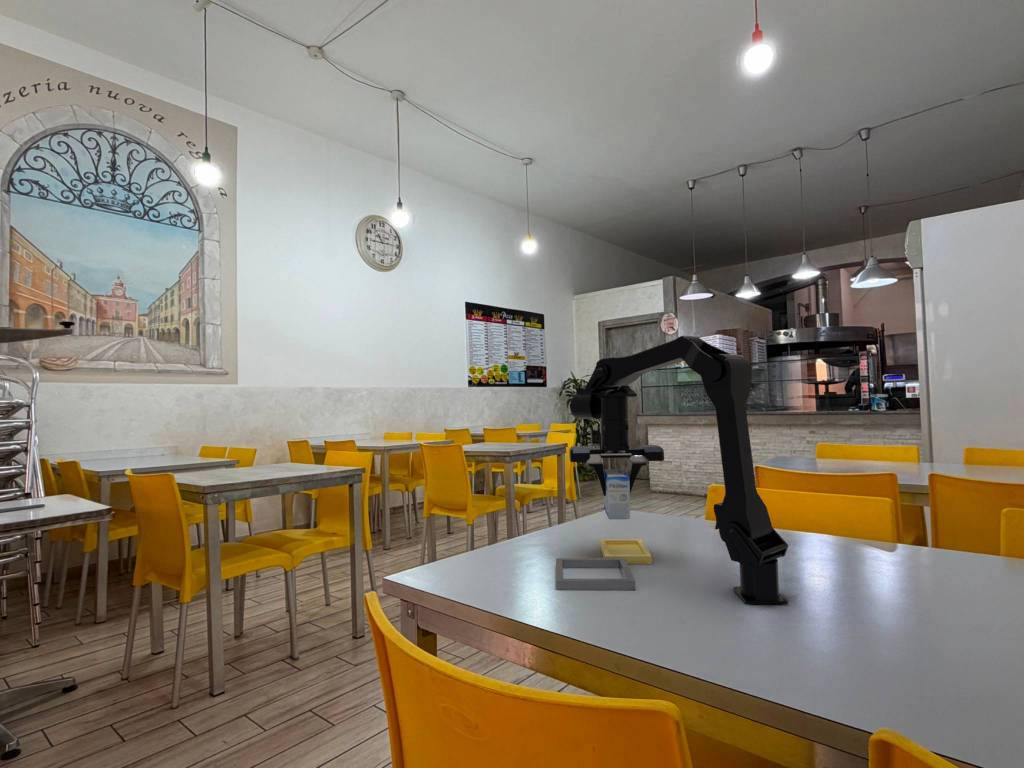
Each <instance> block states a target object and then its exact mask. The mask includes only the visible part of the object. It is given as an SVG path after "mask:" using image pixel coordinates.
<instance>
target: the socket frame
mask: <svg viewBox="0 0 1024 768" xmlns="http://www.w3.org/2000/svg"><path fill="white" fill-rule="evenodd" d="M583 568H584V569H588V568H589V569H604V568H605V569H612V568H613V569H619V570H620V571H621V575H622V577H623V578H564V572H563V569H583ZM555 584H556V585H555V587H556V588H555V589H556V590H559V591H561V590H562V591H563V590H564V591H566V590H567V591H570V590H571V591H573V590H575V591H576V590H577V591H580V590H581V591H586V590H587V591H591V590H592V591H593V590H594V591H595V590H596V591H636V580H635V578H634V575H633V574H632V571H631V568H630V566H629V564H627V561H626V559H625V558H603V557H592V558H591V557H587V558H586V557H581V558H580V557H579V558H577V557H574V558H573V557H570V558H569V557H564V558H562V557H560V558H559V557H558V558H557V557H556V558H555Z"/></svg>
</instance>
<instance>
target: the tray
mask: <svg viewBox="0 0 1024 768" xmlns="http://www.w3.org/2000/svg"><path fill="white" fill-rule="evenodd" d="M599 547H600V550H601V553H602V558H625V559H626V561H627V564H628V565H639V564H640V565H652V564H653V563H652V562H653V560H652V559H653V558H652V557H653V556H652V555H651V553H650V551H649V549H648V548H647V546H646V545H645V543H644V541H643V540H642V539H641V538H638V539H637V538H635V539H634V538H631V539H630V538H629V539H628V538H627V539H626V538H624V539H621V538H620V539H619V538H615V539H613V538H610V539H608V538H607V539H605V538H604V539H599Z"/></svg>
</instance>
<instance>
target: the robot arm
mask: <svg viewBox="0 0 1024 768" xmlns="http://www.w3.org/2000/svg"><path fill="white" fill-rule="evenodd" d="M681 362H684V363H685V364H686V365H687V367H688V368H689V369H690V370H692V371H694V372H695V373H696V374H697V375H700V379H701V382H702V386H703V389H704V393H705V394H706V397H708V399H709V401H710V402H711V404H712V406H713V407H714V410H715V418H716V424H717V425H716V426H717V434H718V443H719V450H720V459H721V466H722V474H723V484H724V485H723V486H724V497H723V499H722V502H718V503H714V504H713V511H714V516H715V527H714V530H718V534H719V536H720V539H721V541H722V542H724V544H725V546H726V548H727V549H726V550H727V552H728V555H729V557H730V558H729V559H730V560H731V561H732V562H736V563H738V565H739V586H732V587H733V588H732V590H733V591H734V592H735V593H736V595H737V596H738V597H739V599H740V600H742V601H743V602H744V603H745V604H748V605H749V604H752V605H754V604H755V605H757V604H758V605H759V604H761V605H762V604H763V605H764V604H765V605H768V604H769V605H771V604H772V605H776V604H777V605H787V604H789V600H788V599H787V598H786V597H785V596H784V595H783V594H782V593H780V584H779V582H780V580H779V578H780V577H779V559H780V558H783V557H785V556H786V555H787V552H788V548H789V544H788V543H787V542H786V541H785V539H783V537H782V536H781V535H780V534H779V532H777V530H775V528H774V527H773V525H772V521H771V518H770V515H769V511H768V507H767V505H766V504H765V502H764V501H763V500H762V498H761V496H760V494H759V493H758V491H757V490H758V489H757V485H756V478H755V477H756V476H755V469H754V462H753V453H752V447H751V446H752V445H751V438H750V431H749V423H748V422H749V421H748V415H747V402H748V399H749V396H750V393H751V390H752V379H753V378H752V376H753V369H752V365H751V362H750V361H749V360H748V359H746V358H745V357H744V355H743V356H742V355H740V354H730V353H729V352H727V351H725V350H723V349H722V348H719V347H717V346H714V345H713V344H710V343H708V342H706V341H704V340H703V339H702V338H700V337H698V336H693V335H680V336H678V337H677V338H675V339H672V340H671V341H667V342H665V343H662V344H659V345H656V346H654V347H650V348H648V349H645V350H642V351H640V352H637V353H634V354H632V355H626V356H612V357H606V358H605V357H604V358H601V359H599V360H597V362H596V363H595V365H596V366H595V367H594V369H593V372H592V374H591V375H590V378H589V380H588V382H587V384H586V386H585V387H577V388H576V393H575V394H574V395H573V396H572V397H571V400H570V403H569V410H570V413H571V415H572V416H573V417H574V418H576V419H578V420H581V419H585V420H588V419H589V420H599V419H600V429H597V430H595V429H594V430H590V444H591V447H598V449H597V448H596V449H594V448H593V449H590V447H589V446H588V445H577V446H576V445H573V446H571V447H569V449H568V457H569V458H568V460H569V462H570V463H585V464H586V465H587V466H588V467H592V469H593V470H594V472H595V474H596V477H597V480H598V483H599V486H600V488H601V492H602V495H603V497H604V496H606V485H605V477H604V470H605V469H604V463H603V462H602V461H601V460H602V459H625V458H629V459H627V473H626V474H627V475H628V477H629V482H630V494H631V493H632V490H633V486H634V484H635V481H636V479H637V476H638V474H639V472H640V470H641V469H642V467H643V466H647V462H646V460H647V461H648V462H664V461H665V451H664V448H662V447H661V446H660V445H658V444H640V445H639V448H630V424H629V420H630V419H629V398H635V397H637V395H638V394H637V393H636V392H635V391H634V390H633V389H632V388H631V387H630V384H632V383H634V382H636V381H637V380H638V379H640V377H641V376H643V375H644V374H647V373H650V372H654V371H656V370H659V369H663V368H665V367H669V366H673V365H675V364H677V363H681Z"/></svg>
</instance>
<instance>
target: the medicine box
mask: <svg viewBox="0 0 1024 768" xmlns="http://www.w3.org/2000/svg"><path fill="white" fill-rule="evenodd" d="M603 470H604V477H605V485H606V496H604V495H603V510H604V511H605V514H606V515H607V518H608V520H630V519H631V493H630V482H629V477H628V475H627V474H628V473H626V472H625V469H621V468H609V469H608V468H607V469H603Z"/></svg>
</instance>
